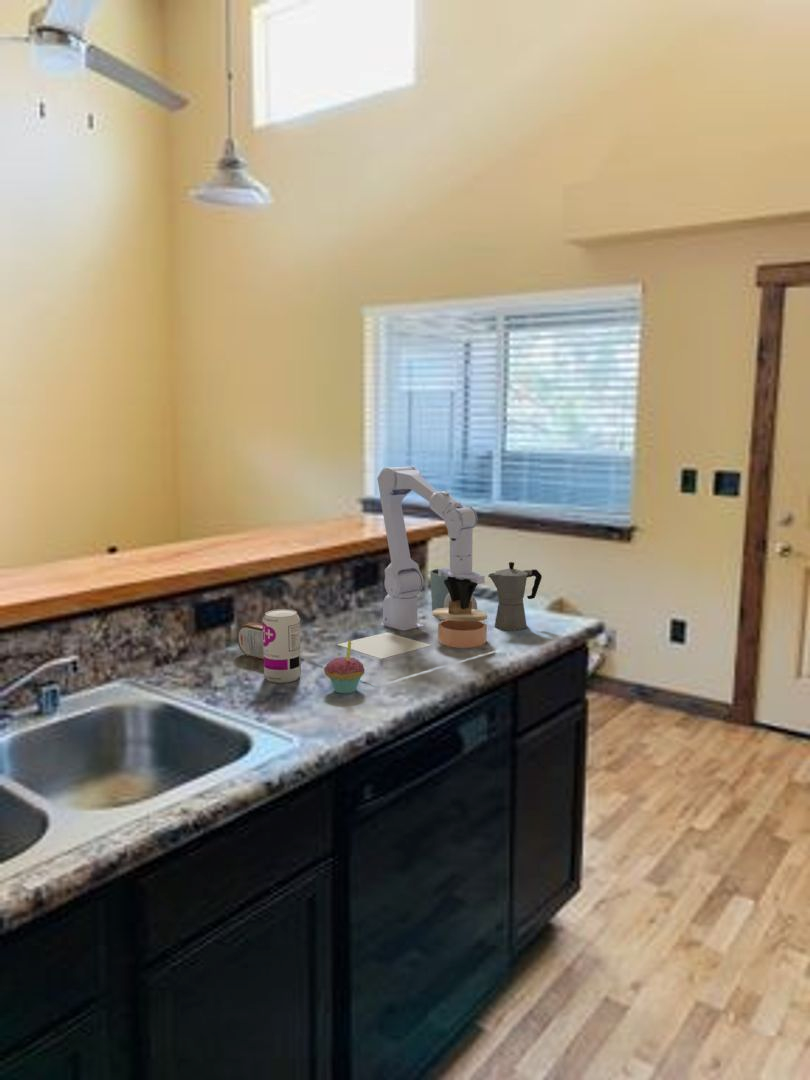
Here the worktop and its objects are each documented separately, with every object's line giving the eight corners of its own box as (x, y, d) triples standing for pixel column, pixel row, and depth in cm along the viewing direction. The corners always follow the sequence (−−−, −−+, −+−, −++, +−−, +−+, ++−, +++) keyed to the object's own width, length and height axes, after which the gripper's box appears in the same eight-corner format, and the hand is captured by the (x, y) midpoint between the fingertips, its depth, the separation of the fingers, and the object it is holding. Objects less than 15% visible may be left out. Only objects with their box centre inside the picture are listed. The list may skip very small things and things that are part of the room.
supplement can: (271, 686, 187) (269, 619, 185) (259, 675, 194) (257, 611, 192) (306, 680, 191) (304, 614, 188) (293, 670, 198) (291, 607, 196)
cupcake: (372, 689, 185) (372, 635, 183) (343, 699, 178) (343, 643, 176) (345, 681, 190) (344, 628, 188) (316, 690, 184) (315, 636, 182)
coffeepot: (493, 632, 231) (494, 566, 228) (482, 623, 240) (483, 560, 237) (547, 628, 234) (548, 563, 232) (534, 620, 243) (535, 557, 241)
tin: (289, 662, 204) (288, 628, 203) (279, 665, 202) (278, 631, 201) (245, 652, 213) (243, 619, 212) (235, 655, 211) (234, 621, 209)
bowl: (429, 643, 220) (429, 624, 220) (460, 634, 229) (460, 616, 228) (464, 652, 212) (464, 633, 211) (495, 643, 220) (495, 624, 219)
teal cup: (431, 606, 260) (431, 567, 258) (464, 607, 259) (465, 568, 257) (429, 614, 250) (429, 574, 248) (463, 615, 249) (464, 574, 247)
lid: (421, 613, 219) (421, 599, 219) (459, 608, 229) (459, 594, 228) (460, 623, 209) (461, 608, 209) (498, 617, 218) (499, 603, 218)
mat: (336, 646, 217) (336, 644, 217) (387, 634, 229) (387, 632, 229) (381, 661, 205) (381, 658, 205) (431, 647, 216) (431, 645, 216)
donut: (479, 624, 239) (479, 589, 237) (474, 627, 236) (474, 591, 234) (447, 620, 244) (447, 585, 242) (441, 622, 241) (441, 588, 239)
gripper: (429, 553, 219) (429, 605, 221) (471, 560, 209) (470, 614, 211) (449, 550, 224) (448, 600, 226) (490, 557, 213) (489, 610, 215)
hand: (460, 607), depth 219 cm, fingers closed on lid, 2 cm apart
